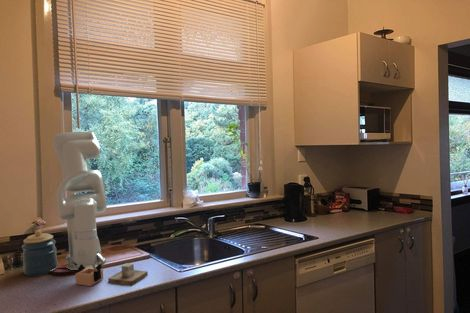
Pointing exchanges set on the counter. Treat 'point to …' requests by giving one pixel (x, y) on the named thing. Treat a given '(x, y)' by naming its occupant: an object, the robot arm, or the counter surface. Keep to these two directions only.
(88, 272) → the collar
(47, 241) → the canister
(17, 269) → the counter surface
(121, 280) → the post board
